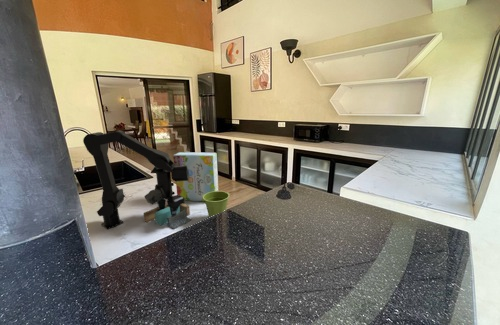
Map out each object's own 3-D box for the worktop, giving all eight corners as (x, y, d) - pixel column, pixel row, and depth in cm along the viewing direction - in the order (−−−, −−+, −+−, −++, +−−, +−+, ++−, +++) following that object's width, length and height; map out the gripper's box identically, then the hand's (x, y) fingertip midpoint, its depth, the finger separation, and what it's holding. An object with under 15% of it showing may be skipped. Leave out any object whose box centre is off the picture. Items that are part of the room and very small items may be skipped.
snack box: (219, 195, 121) (217, 152, 114) (215, 202, 113) (213, 155, 106) (183, 194, 123) (179, 151, 116) (176, 200, 115) (172, 154, 108)
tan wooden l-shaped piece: (144, 222, 93) (143, 212, 92) (175, 208, 106) (174, 200, 105) (158, 230, 87) (157, 220, 86) (189, 214, 100) (189, 205, 99)
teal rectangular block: (155, 223, 93) (154, 212, 92) (175, 214, 101) (174, 204, 99) (161, 226, 91) (159, 215, 89) (180, 216, 99) (179, 206, 97)
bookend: (168, 226, 90) (167, 217, 89) (185, 217, 97) (184, 209, 96) (174, 229, 88) (173, 220, 87) (191, 220, 95) (190, 212, 94)
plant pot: (229, 211, 103) (228, 189, 100) (230, 224, 92) (230, 200, 89) (204, 213, 101) (203, 191, 98) (203, 226, 90) (201, 202, 87)
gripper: (134, 182, 90) (139, 215, 94) (159, 192, 79) (163, 229, 83) (158, 176, 99) (162, 206, 103) (183, 184, 88) (186, 217, 92)
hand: (168, 214), depth 95 cm, fingers open, 8 cm apart
